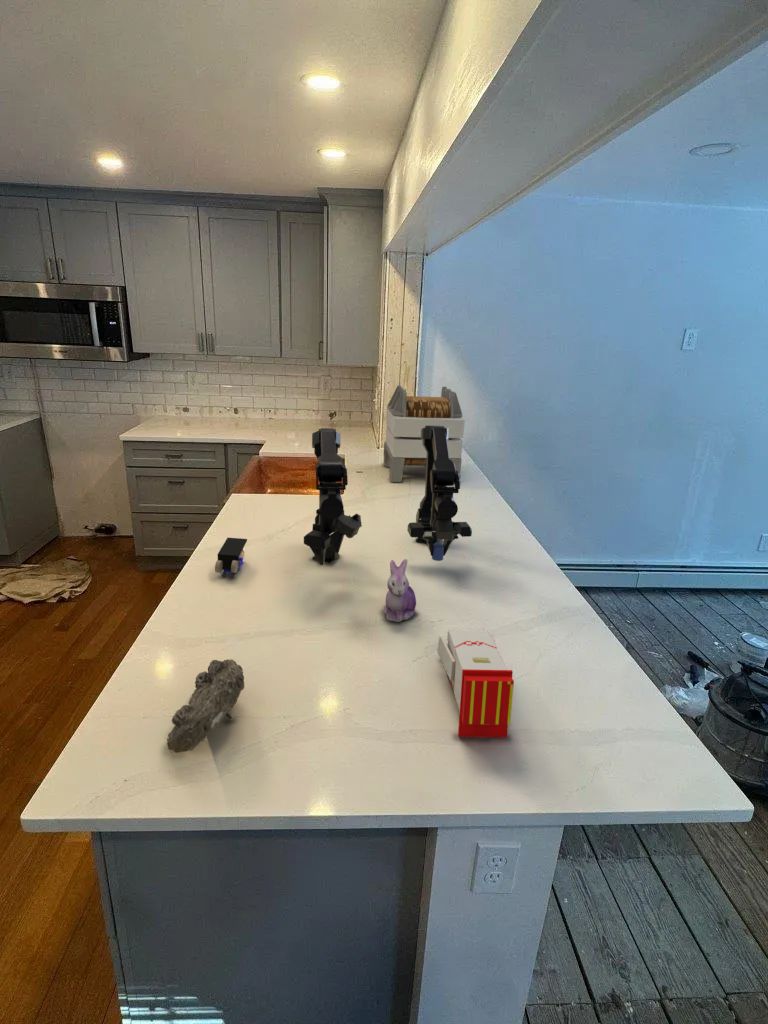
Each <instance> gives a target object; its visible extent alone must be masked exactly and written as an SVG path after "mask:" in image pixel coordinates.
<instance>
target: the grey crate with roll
mask: <svg viewBox="0 0 768 1024" xmlns="http://www.w3.org/2000/svg"><path fill="white" fill-rule="evenodd" d="M440 393H441V394H440V396H415V395H414V396H413V395H412V396H411V395H407V394H408V393H407V390H406V389H404V388H403V387H402V385H399V384H398V385H397V386H396V388H395V390H394V392H393V394H392V395H391V398H390V400H389V402H388V404H387V405H386V413H385V414H386V415H385V423H386V428H385V438H384V442H383V466H384V467H388V468H389V475H388V476H389V477H388V478H389V480H390V482H391V483H402V482H403V475H404V469H405V466H406V467H407V466H411V467H412V466H413V467H415V466H416V467H417V466H418V467H426V458H427V452H426V450H425V448H424V446H423V444H422V439H421V429H422V428H425V425H430V426H444V427H445V428H447V429H449V436H448V440H447V446H448V453H449V459H450V460H451V461H452V462H454V464H455V469H456V470H457V471H458V474H459V480H460V481H461V472H462V461H463V460H462V453H463V442H464V441H463V440H462V439H463V438H464V431H465V430H464V429H465V419H464V418H463V411H462V408H461V405H460V402H459V398H458V395H457V392H455V391H453V390H452V389H451V388H447V386H442V387H441V392H440Z"/></svg>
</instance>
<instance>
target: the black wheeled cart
mask: <svg viewBox="0 0 768 1024" xmlns="http://www.w3.org/2000/svg"><path fill="white" fill-rule="evenodd" d="M247 542H248V538H240V537H226V539H225V541H224V543H223V544H222V546H221V547H220V549H219V551H218V552H217V560H216V562H215V564H214V572H215V573H221V577H222V578H224V577H225V576H226V574H227V573H230V574H231V573H232V574H231V578H234V577H235V575H236V573H237V572H239V571H240V567H242V566H243V565H244V564H245V562H244V558H245V551H244V547H245V546H246V544H247Z"/></svg>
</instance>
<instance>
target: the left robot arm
mask: <svg viewBox="0 0 768 1024" xmlns="http://www.w3.org/2000/svg"><path fill="white" fill-rule="evenodd" d="M311 448H312V449H314V450H313V451H314V456H315V457H316V459H317V463H316V464H315V490H316V491H318V499H319V500H318V501H319V502H318V508H317V509H316V510H315V513H316V516H315V517H314V523H312V530H311V531H309V532H308V533H307V534H305V535H304V536H303V545H305V546H307V547H309V548H310V550H311V552H312V554H313V555H314V556H312V557H311V558H312V560H313V561H317V563H318V565H319V566H324V565H325V563H326V564H332V563H333V562H334V561H335V560H336V559H338V558H339V557H340V554H339V553H340V550H341V547H342V543H343V540H344V537H346V538H348V539H352V538H354V537H355V536H356V535H358V533H359V531H360V529H361V527H362V526H363V525H362V516H361V515H360V514H359V513H355V514H353V515H352V516H351V515H346V514H345V510H344V509H345V507H344V503H343V497H342V490H343V491H346V490H347V486H349V485H348V484H349V479H348V468H347V467H346V464H345V463H343V458H342V456H340V455H339V454H338V453H339V449H340V448H341V433H340V432H338V431H337V429H336V428H333V427H320V428H318V430H316V431H314V432H312V434H311Z"/></svg>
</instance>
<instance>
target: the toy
mask: <svg viewBox="0 0 768 1024" xmlns="http://www.w3.org/2000/svg"><path fill="white" fill-rule="evenodd" d="M446 640H447V643H446V641H445V639H444V636H443V635H442V634H439V637H438V646H437V656H438V657H439V659H440V661H441V663H442V666H443V668H444V670H445V672H446V674H447V677H448V679H449V681H450V684H451V687H452V690H453V693H454V697H455V701H456V705H457V708H458V711H459V714H458V715H459V716H458V730H457V731H458V732H457V737H458V738H508V731H509V726H510V725H511V717H512V707H513V697H514V696H513V695H514V684H515V680H514V679H513V673H514V671H513V670H512V669H508V667H507V665H506V662H505V661H504V659H503V658H502V655H501V653H500V651H499V649H498V647H497V643H496V639H495V637H494V635H493V634H491V632H490V631H489V629H467V628H466V629H465V628H463V629H461V628H460V629H459V628H448V630H447V639H446Z"/></svg>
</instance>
